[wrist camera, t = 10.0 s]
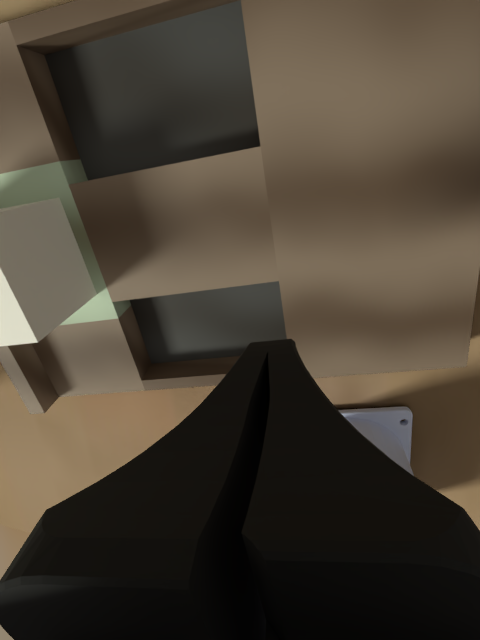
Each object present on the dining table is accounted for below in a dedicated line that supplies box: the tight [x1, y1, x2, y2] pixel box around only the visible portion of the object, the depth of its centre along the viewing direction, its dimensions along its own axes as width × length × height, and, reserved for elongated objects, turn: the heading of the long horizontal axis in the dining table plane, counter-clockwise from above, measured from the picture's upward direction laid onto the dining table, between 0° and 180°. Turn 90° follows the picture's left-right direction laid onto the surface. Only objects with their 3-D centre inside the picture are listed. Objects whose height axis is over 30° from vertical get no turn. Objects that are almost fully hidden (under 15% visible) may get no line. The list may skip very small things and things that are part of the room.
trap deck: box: [0, 0, 480, 414], centre depth 16 cm, size 18×25×4 cm
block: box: [0, 198, 97, 346], centre depth 16 cm, size 5×5×5 cm
